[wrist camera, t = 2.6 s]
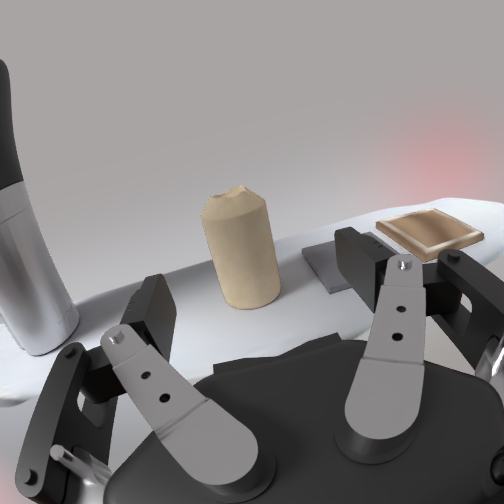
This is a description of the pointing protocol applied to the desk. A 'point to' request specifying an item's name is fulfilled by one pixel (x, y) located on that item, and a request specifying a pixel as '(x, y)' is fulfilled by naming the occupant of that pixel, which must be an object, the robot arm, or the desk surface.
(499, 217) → the desk surface
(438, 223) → the board
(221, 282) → the candle
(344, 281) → the pad
